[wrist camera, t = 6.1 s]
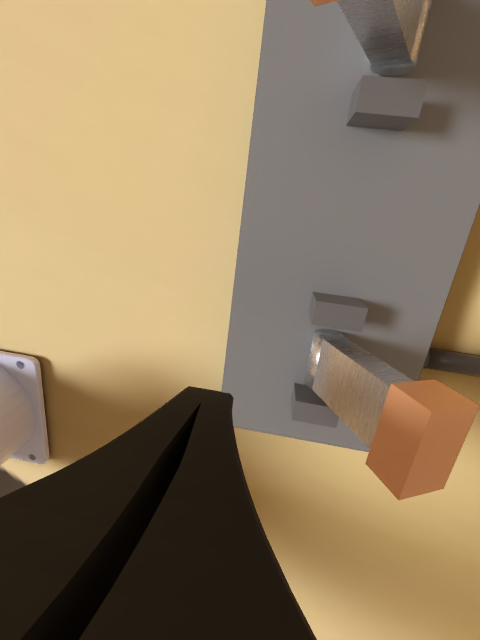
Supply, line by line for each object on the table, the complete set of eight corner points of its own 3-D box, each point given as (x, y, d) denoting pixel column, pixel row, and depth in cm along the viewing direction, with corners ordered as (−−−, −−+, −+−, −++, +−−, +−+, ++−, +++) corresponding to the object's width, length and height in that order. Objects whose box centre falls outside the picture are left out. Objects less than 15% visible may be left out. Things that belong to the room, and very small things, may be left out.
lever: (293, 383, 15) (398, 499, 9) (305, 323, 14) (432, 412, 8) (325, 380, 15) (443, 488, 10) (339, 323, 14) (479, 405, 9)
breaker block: (224, 402, 18) (211, 444, 15) (286, -115, 11) (288, -259, 8) (506, 453, 17) (562, 512, 14) (782, -99, 10) (1041, -263, 6)
